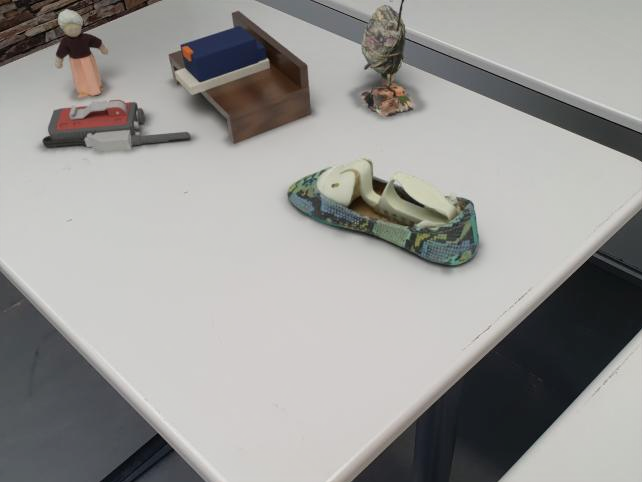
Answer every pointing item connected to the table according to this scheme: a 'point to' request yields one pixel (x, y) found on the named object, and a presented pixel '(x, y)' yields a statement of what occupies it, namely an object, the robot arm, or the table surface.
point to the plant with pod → (385, 60)
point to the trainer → (220, 59)
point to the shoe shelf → (259, 89)
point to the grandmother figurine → (79, 54)
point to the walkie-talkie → (102, 127)
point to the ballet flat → (391, 210)
